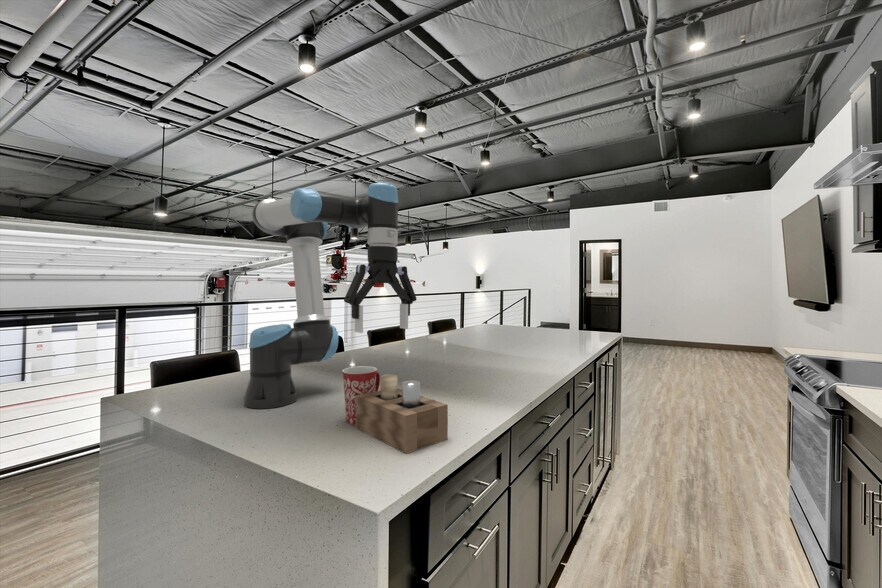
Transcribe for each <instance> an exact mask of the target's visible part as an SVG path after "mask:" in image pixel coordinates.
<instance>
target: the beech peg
mask: <svg viewBox="0 0 882 588" xmlns="http://www.w3.org/2000/svg"><path fill="white" fill-rule="evenodd" d="M379 376H380V391H381V398H382V399H385V400H389V399H394V398H398V390H397V388H398V375H397V374H392V373H391V374H388V373H386V374H381V375H379Z"/></svg>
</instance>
